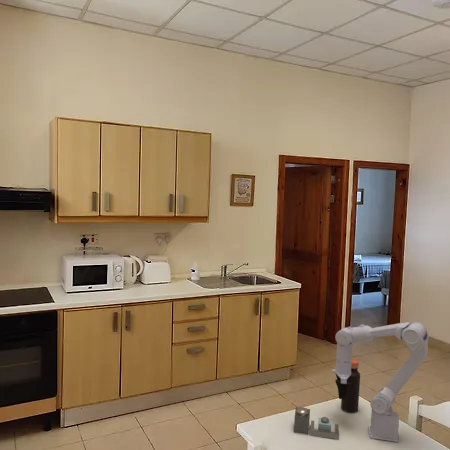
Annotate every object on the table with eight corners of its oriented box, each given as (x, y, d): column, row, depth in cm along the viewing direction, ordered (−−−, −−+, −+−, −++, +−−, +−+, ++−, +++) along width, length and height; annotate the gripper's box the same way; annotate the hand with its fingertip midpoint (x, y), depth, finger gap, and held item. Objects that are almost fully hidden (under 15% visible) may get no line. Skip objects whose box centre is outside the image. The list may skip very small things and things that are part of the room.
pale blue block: (330, 429, 165) (331, 416, 165) (330, 436, 161) (331, 422, 160) (318, 428, 166) (318, 415, 166) (317, 434, 161) (318, 420, 161)
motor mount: (338, 428, 166) (339, 410, 165) (338, 439, 158) (339, 420, 158) (295, 422, 169) (295, 404, 168) (293, 433, 161) (294, 414, 161)
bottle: (349, 414, 177) (352, 365, 176) (337, 407, 183) (340, 359, 181) (361, 411, 180) (364, 362, 179) (349, 403, 186) (352, 357, 185)
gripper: (332, 352, 178) (330, 385, 179) (333, 365, 164) (331, 401, 165) (350, 354, 176) (348, 387, 177) (353, 367, 162) (350, 404, 163)
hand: (341, 394), depth 171 cm, fingers open, 7 cm apart
